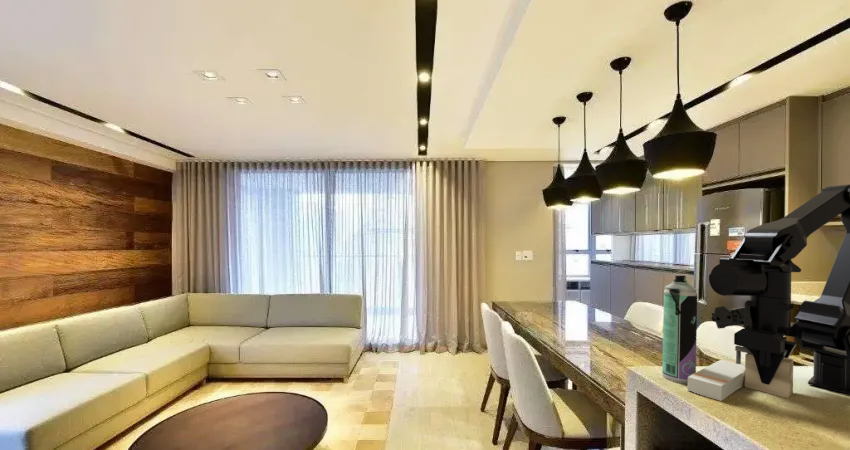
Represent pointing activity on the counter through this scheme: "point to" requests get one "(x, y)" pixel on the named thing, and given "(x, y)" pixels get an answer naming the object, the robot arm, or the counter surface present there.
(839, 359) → the robot arm
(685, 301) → the spray can
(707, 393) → the board
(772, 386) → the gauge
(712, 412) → the counter surface
